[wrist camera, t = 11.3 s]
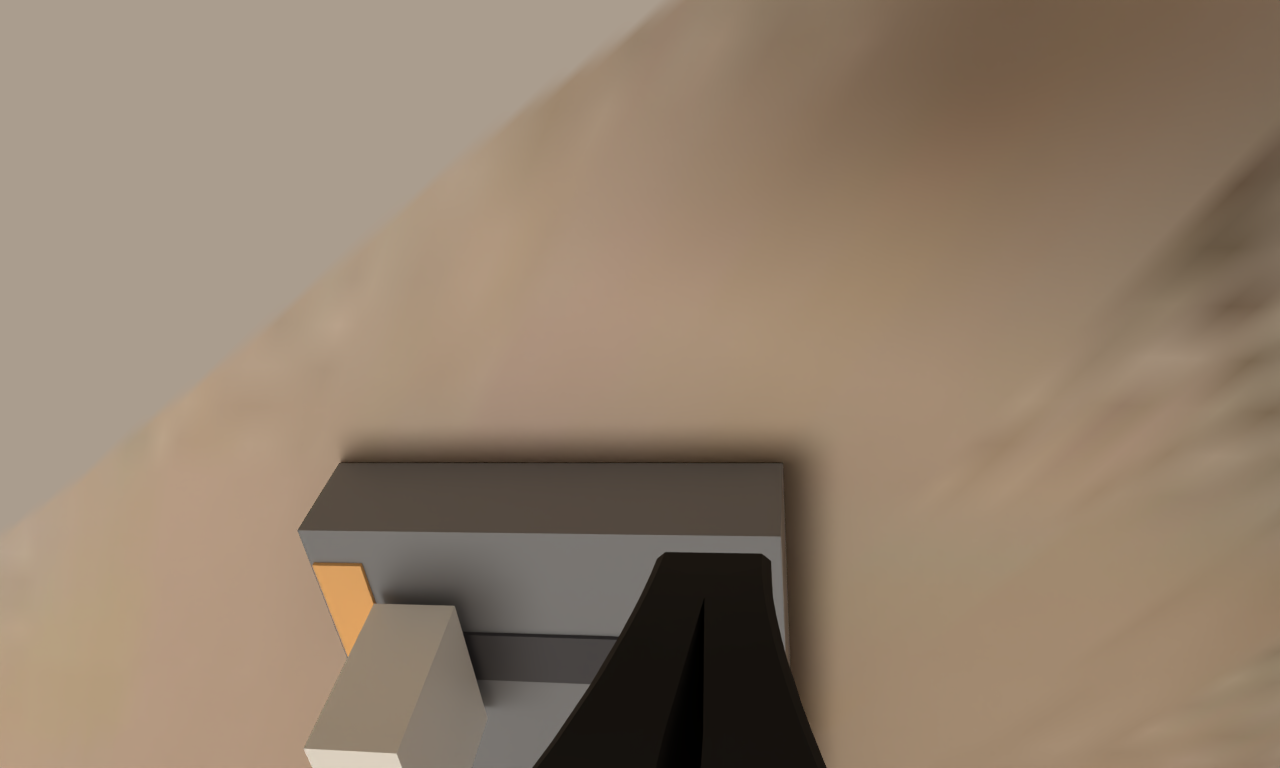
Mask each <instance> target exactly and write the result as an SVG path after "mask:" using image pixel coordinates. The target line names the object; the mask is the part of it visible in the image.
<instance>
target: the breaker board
mask: <svg viewBox="0 0 1280 768" xmlns="http://www.w3.org/2000/svg"><path fill="white" fill-rule="evenodd" d="M298 533H299V535H300V538H301V541H302V543H303V546H304V548H305V551H306V553H307V556H308V559H309V561H310V564H311V566H312V569H313V571H314V574H315V577H316V579H317V582H318V584H319V587H320V589H321V592H322V595H323V597H324V600H325V602H326V605H327V607H328V610H329V612H330V615H331V618H332V620H333V623H334V625H335V628H336V630H337V633H338V636H339V638H340V641H341V643H342V646H343V648H344V651H345V654H346V656H347V658H348V656H349V654H350V652H351V650H352V648H353V646H354V644H355V642H356V640H357V637H358V635H359V633H360V631H361V629H362V627H363V625H364V623H365V621H366V619H367V617H368V615H369V613H370V611H371V609H372V607H373V604H407V605H445V606H455V608H456V612H457V615H458V619H459V622H460V625H461V629H462V632H463V636H464V639H465V643H466V646H467V649H468V653H469V656H470V660H471V663H472V667H473V670H474V673H475V677H476V680H477V684H478V687H479V691H480V694H481V697H482V701H483V704H484V708H485V711H486V715H487V721H486V724H485V727H484V731H483V734H482V737H481V740H480V743H479V746H478V749H477V753H476V756H475V759H474V762H473V765H472V768H532V767H533V766H534V765H535V763H536V762H537V761H538V759H539V758H540V757H541V755H542V754H543V753H544V751H545V750H546V749H547V747H548V746H549V744H550V743H551V742H552V740H553V739H554V737H555V736H556V735H557V733H558V732H559V730H560V729H561V727H562V726H563V724H564V723H565V721H566V720H567V718H568V717H569V715H570V714H571V712H572V711H573V710H574V708H575V707H576V705H577V704H578V702H579V701H580V699H581V698H582V696H583V695H584V693H585V692H586V690H587V689H588V687H589V686H590V684H591V682H592V681H593V679H594V678H595V676H596V674H597V672H598V671H599V669H600V667H601V666H602V664H603V662H604V661H605V659H606V657H607V656H608V654H609V652H610V651H611V649H612V647H613V646H614V644H615V642H616V641H617V639H618V637H619V635H620V634H621V632H622V630H623V628H624V626H625V624H626V622H627V621H628V619H629V617H630V615H631V613H632V611H633V609H634V608H635V606H636V604H637V602H638V600H639V598H640V596H641V594H642V592H643V589H644V587H645V585H646V583H647V581H648V579H649V577H650V574H651V572H652V570H653V567H654V565H655V562H656V560H657V558H658V557H660V556H661V555H662V554H663V553H664V552H698V553H761V554H763V555H765V556H766V557H767V558H768V559H769V560H771V566H772V587H773V600H774V605H775V611H776V616H777V620H778V625H779V629H780V633H781V638H782V642H783V645H784V649H785V653H786V656H787V660H788V663H789V666H790V639H789V611H788V584H787V556H786V529H785V501H784V474H783V463H339V464H338V466H337V468H336V469H335V471H334V473H333V474H332V476H331V477H330V479H329V481H328V482H327V484H326V485H325V487H324V489H323V490H322V492H321V493H320V495H319V497H318V498H317V500H316V501H315V503H314V505H313V506H312V508H311V509H310V511H309V513H308V514H307V516H306V518H305V519H304V521H303V522H302V524H301V526H300V527H299V529H298ZM790 669H791V666H790Z"/></svg>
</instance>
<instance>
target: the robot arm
mask: <svg viewBox="0 0 1280 768" xmlns="http://www.w3.org/2000/svg"><path fill="white" fill-rule="evenodd" d="M532 768H826V765H825V763H824V761H823V758H822V756H821V753H820V751H819V748H818V746H817V743H816V740H815V738H814V735H813V733H812V730H811V728H810V725H809V723H808V720H807V717H806V714H805V712H804V709H803V706H802V703H801V700H800V697H799V694H798V691H797V688H796V685H795V682H794V679H793V675H792V672H791V669H790V666H789V663H788V660H787V656H786V653H785V649H784V645H783V642H782V638H781V633H780V629H779V625H778V620H777V616H776V611H775V605H774V600H773V587H772V566H771V560H769V559H768V558H767V557H766V556H765V555H763V554H761V553H698V552H664V553H663V554H662V555H661V556H660V557H658V558H657V560H656V562H655V565H654V567H653V570H652V572H651V574H650V577H649V579H648V581H647V583H646V585H645V587H644V589H643V592H642V594H641V596H640V598H639V600H638V602H637V604H636V606H635V608H634V609H633V611H632V613H631V615H630V617H629V619H628V621H627V622H626V624H625V626H624V628H623V630H622V632H621V634H620V635H619V637H618V639H617V641H616V642H615V644H614V646H613V647H612V649H611V651H610V652H609V654H608V656H607V657H606V659H605V661H604V662H603V664H602V666H601V667H600V669H599V671H598V672H597V674H596V676H595V678H594V679H593V681H592V682H591V684H590V686H589V687H588V689H587V690H586V692H585V693H584V695H583V696H582V698H581V699H580V701H579V702H578V704H577V705H576V707H575V708H574V710H573V711H572V712H571V714H570V715H569V717H568V718H567V720H566V721H565V723H564V724H563V726H562V727H561V729H560V730H559V732H558V733H557V735H556V736H555V737H554V739H553V740H552V742H551V743H550V744H549V746H548V747H547V749H546V750H545V751H544V753H543V754H542V755H541V757H540V758H539V759H538V761H537V762H536V763H535V765H534V766H533V767H532Z"/></svg>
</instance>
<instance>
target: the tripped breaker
mask: <svg viewBox="0 0 1280 768" xmlns="http://www.w3.org/2000/svg"><path fill="white" fill-rule="evenodd" d="M486 721H487V715H486V711H485V708H484V704H483V701H482V697H481V694H480V691H479V687H478V684H477V680H476V677H475V673H474V670H473V667H472V663H471V660H470V656H469V653H468V649H467V646H466V643H465V639H464V636H463V632H462V629H461V625H460V622H459V619H458V615H457V612H456V608H455V606H445V605H407V604H373V607H372V609H371V611H370V613H369V615H368V617H367V619H366V621H365V623H364V625H363V627H362V629H361V631H360V633H359V635H358V637H357V640H356V642H355V644H354V646H353V648H352V650H351V652H350V654H349V656H348V658H347V660H346V662H345V664H344V666H343V668H342V670H341V672H340V675H339V677H338V679H337V681H336V683H335V685H334V687H333V689H332V691H331V693H330V695H329V697H328V699H327V701H326V703H325V705H324V708H323V710H322V712H321V714H320V716H319V718H318V720H317V722H316V724H315V726H314V728H313V730H312V732H311V734H310V736H309V738H308V741H307V743H306V745H305V747H304V751H305V753H306V755H307V757H308V759H309V762H310V764H311V766H312V768H472V765H473V762H474V759H475V756H476V753H477V749H478V746H479V743H480V740H481V737H482V734H483V731H484V727H485V724H486Z"/></svg>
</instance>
